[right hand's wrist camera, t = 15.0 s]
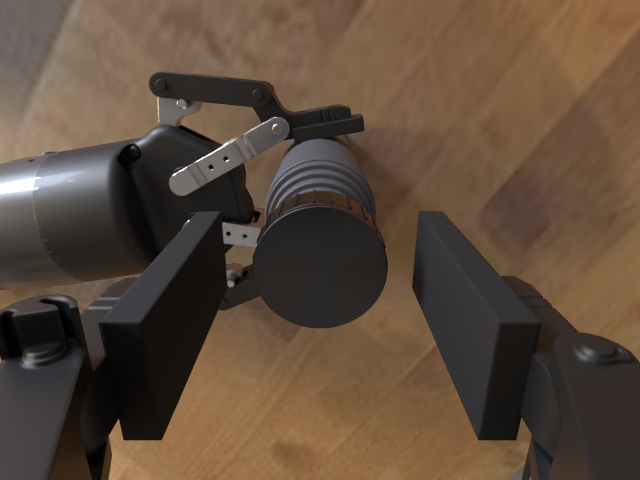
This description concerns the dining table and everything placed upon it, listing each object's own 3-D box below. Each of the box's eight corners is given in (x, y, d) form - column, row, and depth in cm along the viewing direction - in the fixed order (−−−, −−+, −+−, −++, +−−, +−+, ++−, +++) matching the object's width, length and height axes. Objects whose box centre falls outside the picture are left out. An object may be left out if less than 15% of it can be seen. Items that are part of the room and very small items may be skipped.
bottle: (360, 132, 29) (415, 210, 12) (343, 196, 31) (372, 341, 14) (294, 116, 29) (259, 173, 12) (280, 181, 30) (233, 312, 14)
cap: (238, 214, 14) (227, 232, 12) (358, 169, 13) (363, 182, 12) (286, 317, 15) (282, 346, 14) (397, 280, 15) (406, 305, 13)
